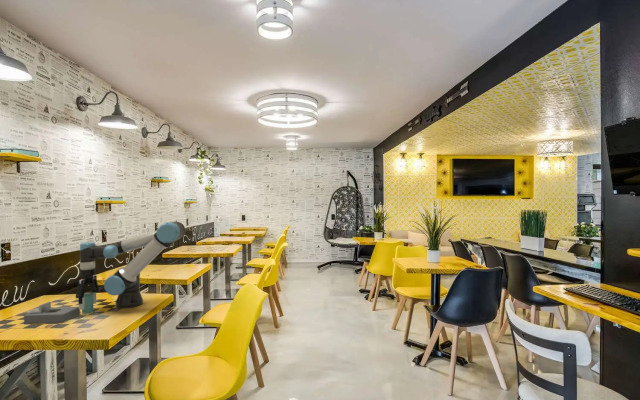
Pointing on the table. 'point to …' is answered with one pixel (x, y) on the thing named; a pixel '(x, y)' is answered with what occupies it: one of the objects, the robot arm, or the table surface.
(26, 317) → the socket
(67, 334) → the table surface
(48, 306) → the shutter
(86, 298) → the plug
